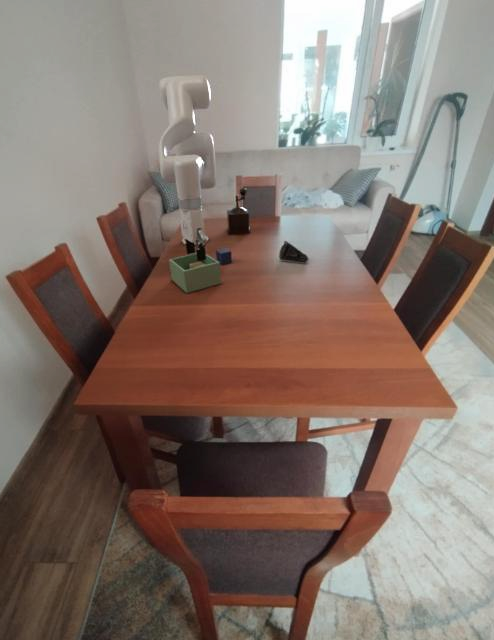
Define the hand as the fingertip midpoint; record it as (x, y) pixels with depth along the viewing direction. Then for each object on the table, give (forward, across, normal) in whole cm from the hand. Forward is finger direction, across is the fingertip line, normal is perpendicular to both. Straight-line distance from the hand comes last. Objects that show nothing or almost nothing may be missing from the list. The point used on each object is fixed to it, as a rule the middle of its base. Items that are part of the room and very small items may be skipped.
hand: (196, 256), depth 118 cm
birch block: (+8, 0, 0) cm, 8 cm away
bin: (+8, +2, -2) cm, 9 cm away
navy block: (+8, -9, +16) cm, 20 cm away
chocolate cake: (+9, +6, +41) cm, 42 cm away
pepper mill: (+9, -44, +44) cm, 63 cm away
